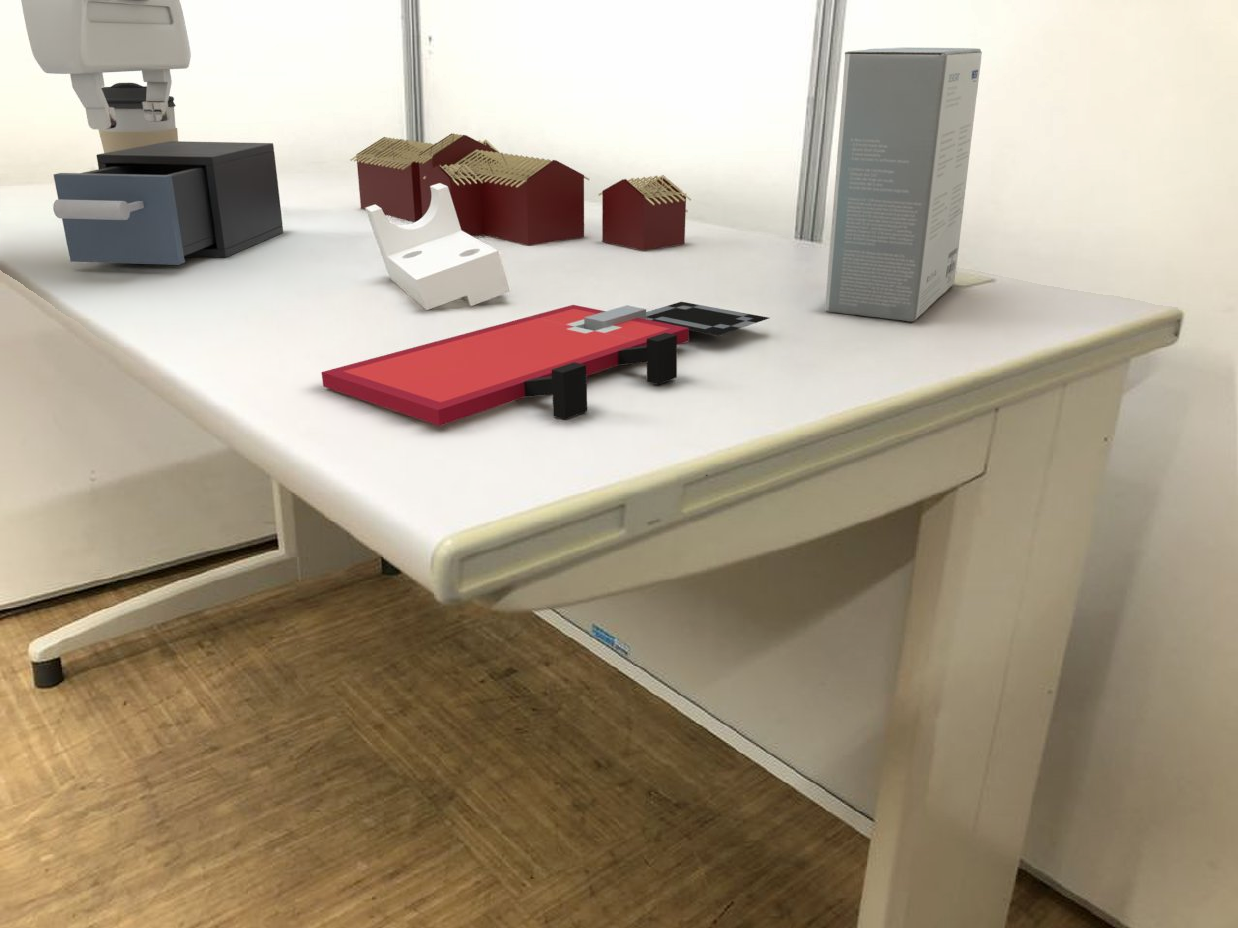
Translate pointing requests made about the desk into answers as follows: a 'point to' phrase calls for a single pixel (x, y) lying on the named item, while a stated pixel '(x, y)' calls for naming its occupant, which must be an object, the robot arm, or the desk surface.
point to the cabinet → (223, 187)
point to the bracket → (438, 256)
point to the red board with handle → (530, 360)
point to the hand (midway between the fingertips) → (131, 125)
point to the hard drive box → (900, 178)
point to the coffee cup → (134, 120)
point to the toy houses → (515, 194)
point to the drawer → (135, 213)
